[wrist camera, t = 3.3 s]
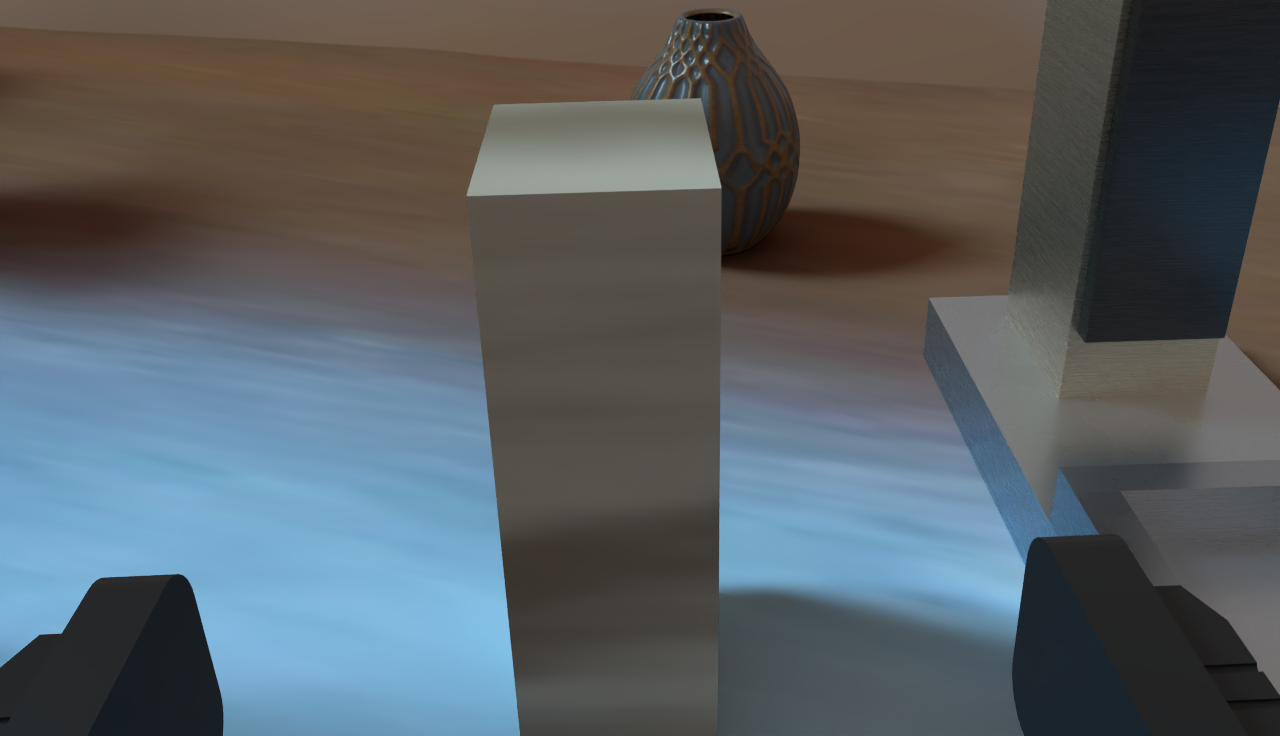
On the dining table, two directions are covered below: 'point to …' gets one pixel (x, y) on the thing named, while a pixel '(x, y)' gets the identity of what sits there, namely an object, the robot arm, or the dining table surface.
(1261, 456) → the grey stand with upright
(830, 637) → the dining table surface
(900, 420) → the dining table surface
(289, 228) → the dining table surface
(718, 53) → the vase
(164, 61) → the dining table surface
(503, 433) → the tall beige block
